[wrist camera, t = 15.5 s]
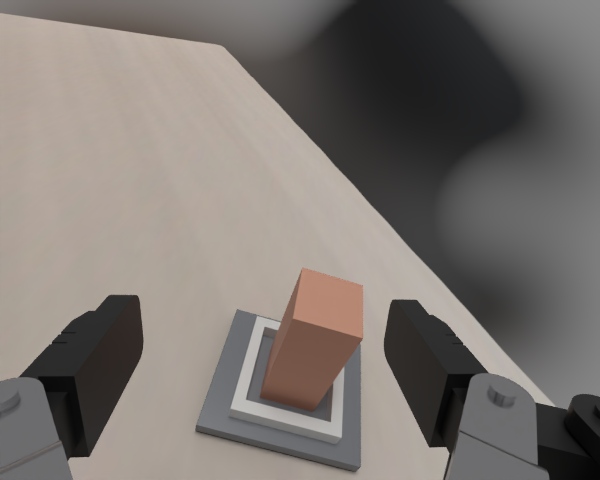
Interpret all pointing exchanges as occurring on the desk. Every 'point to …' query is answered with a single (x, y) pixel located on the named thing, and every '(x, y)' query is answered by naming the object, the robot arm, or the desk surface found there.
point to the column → (313, 340)
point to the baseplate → (275, 416)
